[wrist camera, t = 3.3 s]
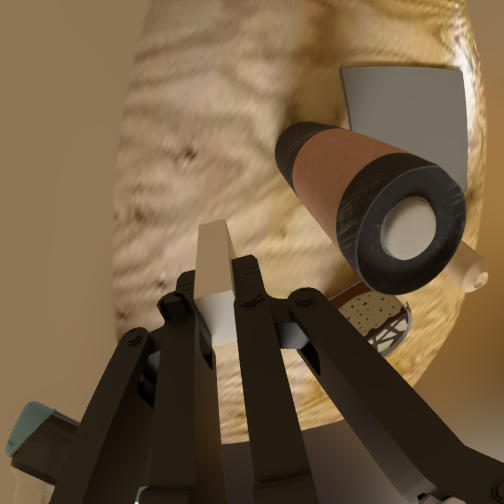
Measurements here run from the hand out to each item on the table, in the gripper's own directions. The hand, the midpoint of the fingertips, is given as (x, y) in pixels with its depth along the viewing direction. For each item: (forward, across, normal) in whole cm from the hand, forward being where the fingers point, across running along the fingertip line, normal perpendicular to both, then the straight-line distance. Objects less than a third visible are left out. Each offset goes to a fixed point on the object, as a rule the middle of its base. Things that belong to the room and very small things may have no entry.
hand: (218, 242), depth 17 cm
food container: (+16, +14, -23) cm, 31 cm away
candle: (+16, +31, -18) cm, 39 cm away
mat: (+16, +25, 0) cm, 29 cm away
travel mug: (+16, +10, 0) cm, 19 cm away
